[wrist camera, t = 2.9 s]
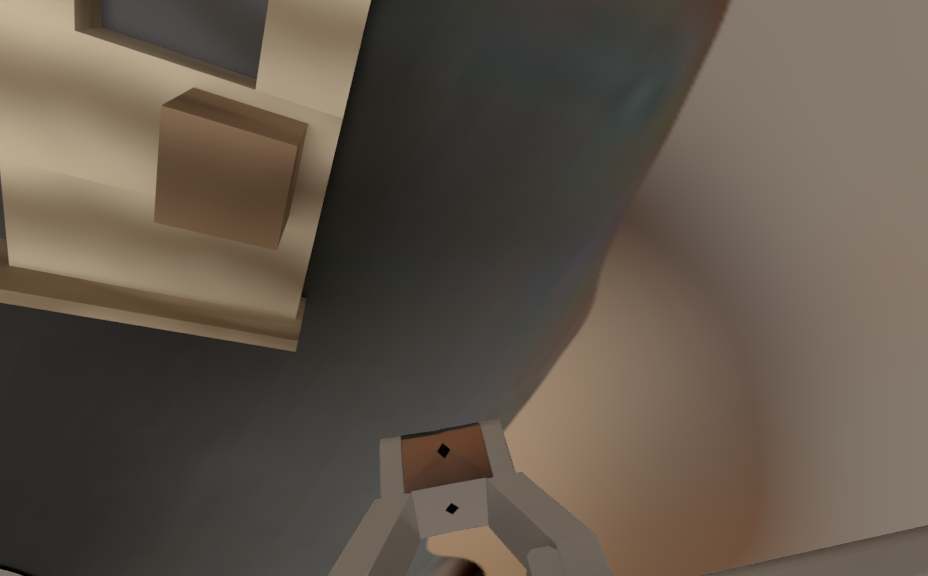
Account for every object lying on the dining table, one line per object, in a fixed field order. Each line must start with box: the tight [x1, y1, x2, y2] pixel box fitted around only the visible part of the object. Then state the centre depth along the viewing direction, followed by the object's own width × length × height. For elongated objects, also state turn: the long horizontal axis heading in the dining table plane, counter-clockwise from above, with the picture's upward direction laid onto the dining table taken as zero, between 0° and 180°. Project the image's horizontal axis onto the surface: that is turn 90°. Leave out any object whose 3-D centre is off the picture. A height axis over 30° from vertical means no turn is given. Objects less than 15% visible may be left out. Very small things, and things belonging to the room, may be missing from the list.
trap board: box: [0, 0, 371, 352], centre depth 21 cm, size 20×27×4 cm
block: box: [154, 87, 308, 251], centre depth 22 cm, size 5×5×4 cm
